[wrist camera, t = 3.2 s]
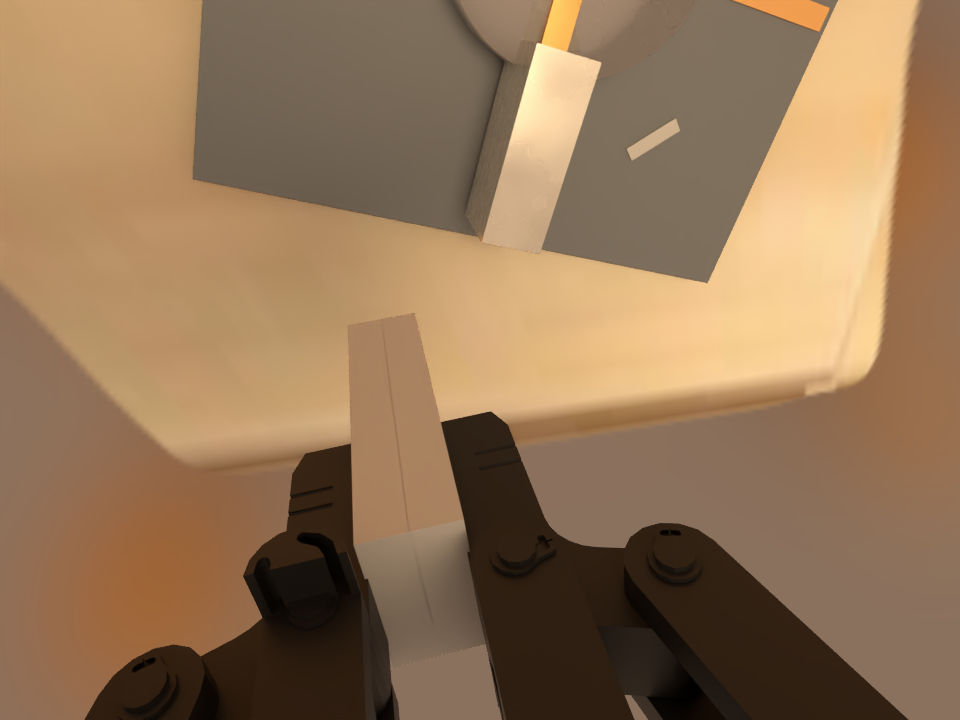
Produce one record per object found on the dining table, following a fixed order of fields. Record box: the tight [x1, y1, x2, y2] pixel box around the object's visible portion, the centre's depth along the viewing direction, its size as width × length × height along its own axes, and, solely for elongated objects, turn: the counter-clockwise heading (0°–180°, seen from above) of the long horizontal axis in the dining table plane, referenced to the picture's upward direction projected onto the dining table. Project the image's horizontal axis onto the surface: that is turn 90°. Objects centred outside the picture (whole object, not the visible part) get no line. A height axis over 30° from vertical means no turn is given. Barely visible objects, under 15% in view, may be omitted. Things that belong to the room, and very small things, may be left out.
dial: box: [452, 0, 698, 254], centre depth 22 cm, size 16×10×4 cm, turn 164°
